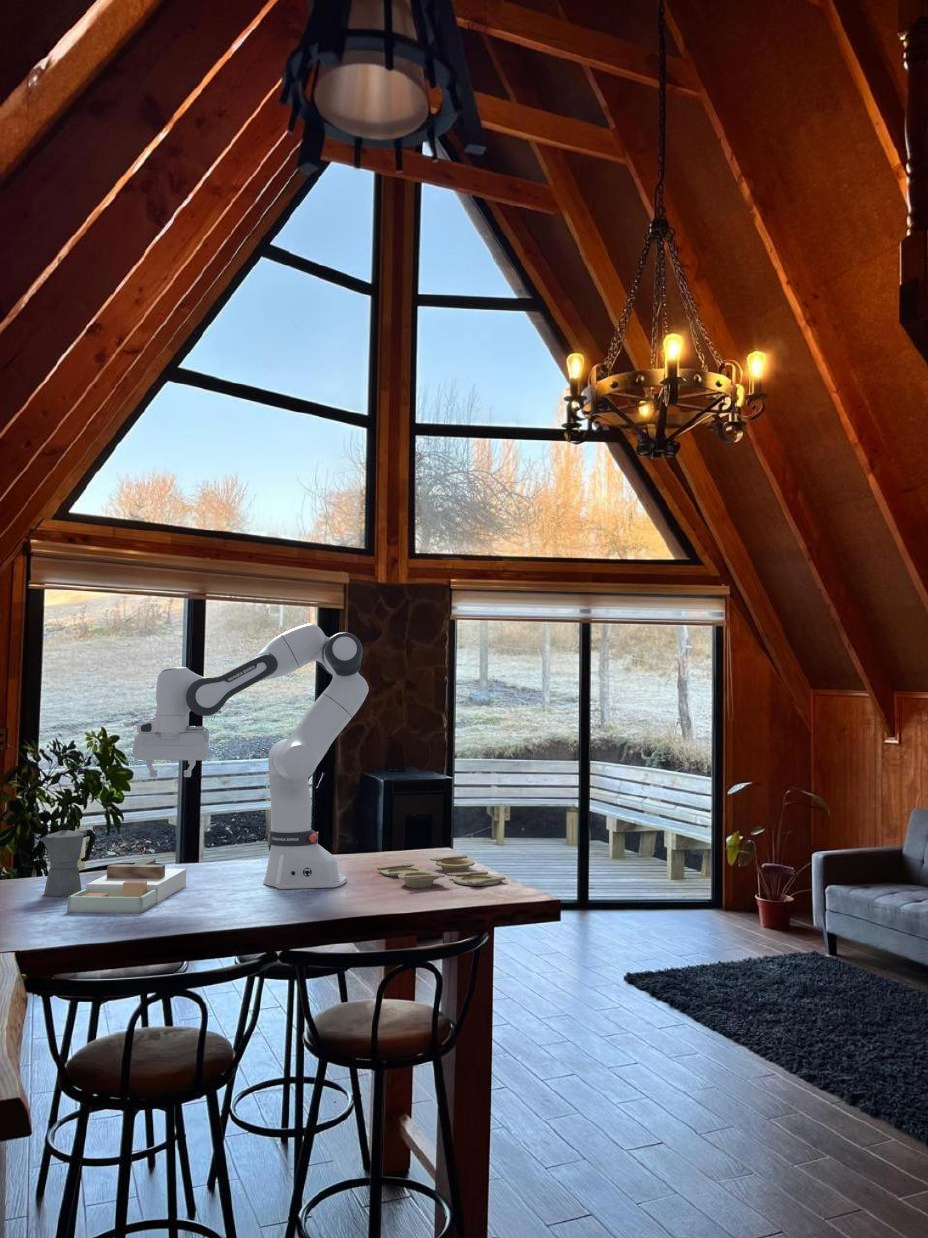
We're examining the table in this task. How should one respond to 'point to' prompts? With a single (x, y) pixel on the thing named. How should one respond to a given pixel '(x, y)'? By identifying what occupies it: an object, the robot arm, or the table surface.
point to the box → (111, 901)
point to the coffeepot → (65, 860)
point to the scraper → (137, 870)
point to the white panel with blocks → (148, 883)
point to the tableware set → (450, 865)
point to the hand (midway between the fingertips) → (170, 777)
